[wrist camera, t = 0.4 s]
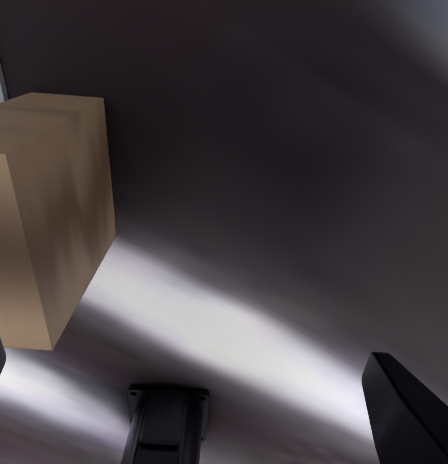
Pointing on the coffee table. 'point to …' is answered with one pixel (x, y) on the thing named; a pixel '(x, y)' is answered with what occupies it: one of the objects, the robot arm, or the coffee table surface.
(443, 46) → the coffee table surface
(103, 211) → the brown wooden block
